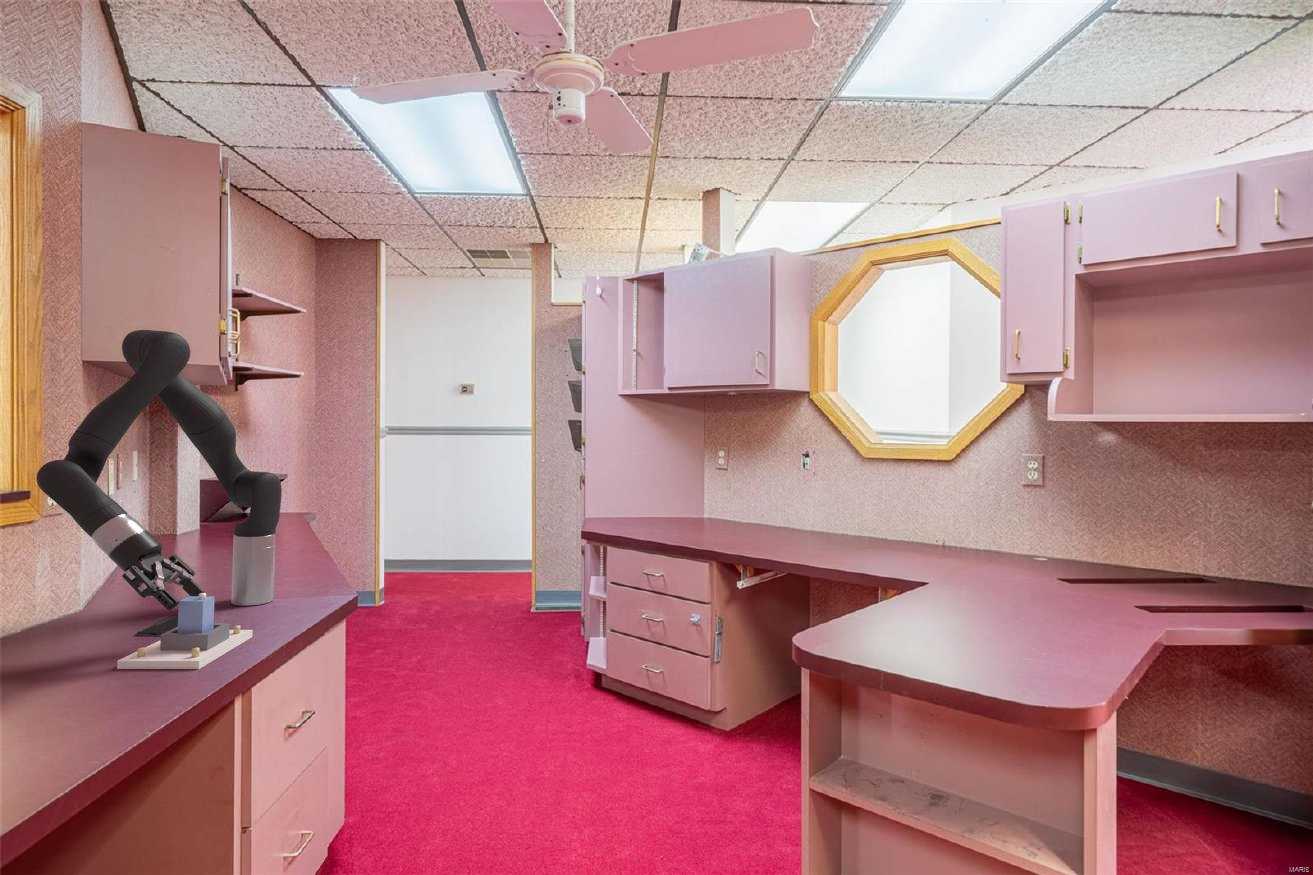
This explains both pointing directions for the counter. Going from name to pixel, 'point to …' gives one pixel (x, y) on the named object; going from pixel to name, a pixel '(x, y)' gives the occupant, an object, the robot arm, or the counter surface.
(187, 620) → the block
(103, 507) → the robot arm
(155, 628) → the phone
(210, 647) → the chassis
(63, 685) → the counter surface
